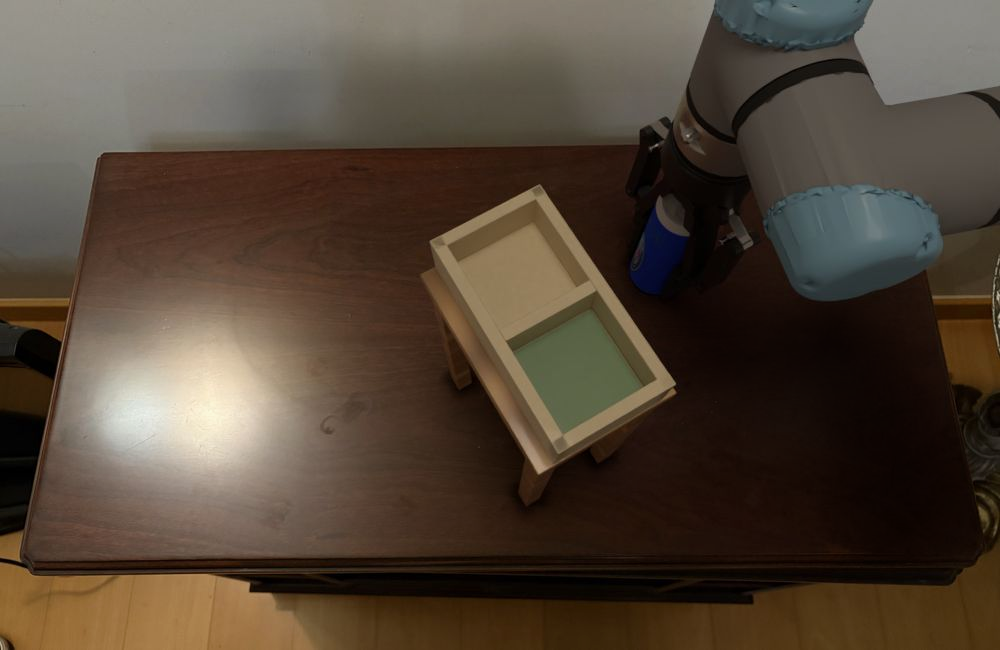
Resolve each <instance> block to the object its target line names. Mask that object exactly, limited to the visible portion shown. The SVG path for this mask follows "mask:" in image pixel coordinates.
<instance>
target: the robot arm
mask: <svg viewBox="0 0 1000 650" xmlns="http://www.w3.org/2000/svg"><path fill="white" fill-rule="evenodd" d="M873 2H874V0H714V3H713V9H712V12H711V15H710V17H709V19H708V20H709V21H708V23H707V26H706V28H705V32H704V35H703V37H702V40H701V43H700V46H699V49H698V52H697V54H696V56H695V60H694V63H693V66H692V68H691V71H690V75H689V79H688V81H687V83H686V85H685V88H684V91H683V93H682V96H681V98H680V101H679V104H678V106H677V109H676V111H675V115H674V117H673V119H672V121H671V120H670V118H669V116H663V117H661V118H659V119H657V120H656V121H653V122H652V123H649V124H647V125H645V126H643V127H642V128H640V129H639V131H638V133H639V137H638V138H639V141H638V142H639V148H638V151H637V153H636V156H635V159H634V162H633V164H632V166H631V170H630V172H629V175H628V179H627V181H626V184H625V186H624V190H625V193H626V195H627V196H628V197H629V198H634V200H635V202H636V203H635V204H634V210H635V212H634V215H633V218H632V223H633V224H634V226H635V227H634V230H633V232H632V235H631V237H630V241H629V243H628V246H627V249H628V251H629V252H630V253H631V254H633V253H635V252H636V249H637V247H638V244H639V242H640V240H641V237H642V235H643V233H644V230H645V228H646V225H647V223H648V221H649V218H650V216H651V213H652V211H653V209H654V206H655V204H656V202H657V199H658V197H659V196H661V198H663V197H665V196H667V195H669V194H671V193H672V194H673V196H674V197H675V198H676V199H677V200H678V201H679V202H680V203H681V204H682V206H683V208H684V210H685V215H684V223H683V227H684V228H685V229H686V230H687V231H688V232H689V233H690V236H689V238H688V240H687V242H686V243H685V249H684V256H683V263H681V264H680V265H678V266H676V267H674V269H673V271H672V272H671V274H670V276H669V278H668V280H667V281H666V283H665V285H664V287H663V288H662V290H661V292H660V294H659V295H660V296H661V297H662V299H663V300H665V299H667V298H669V297H671V296H672V295H674V294H676V293H678V292H680V291H682V292H687V291H688V290H690V289H692V288H693V287H695V289H696V291H697V292H698V293H699V294H704V293H706V292H708V291H710V290H711V289H714V288H715V287H717V286H718V285H721V284H722V283H724V282H725V281H727V278H728V277H729V275H730V274H731V273H732V271H733V270H734V269H735V267H736V266H737V264H738V262H739V261H740V260H741V258H742V257H743V256H744V254H745V252H747V251H748V250H750V249H751V248H754V247H756V246H757V245H759V244H760V243H761V242H762V238H761V235H760V233H759V232H758V231H757V230H756V229H750V230H747V228H746V227H745V226H744V224H743V222H742V220H741V218H740V217H741V214H742V213H743V201H744V199H745V198H746V197H747V196H748V195H749V193H750V192H751V190H752V191H753V194H754V197H755V200H756V203H757V206H758V208H759V212H760V214H761V218H762V224H763V229H764V232H765V235H766V237H767V238H768V240H769V241H771V244H772V245H773V248H774V250H775V252H776V254H777V256H778V259H779V261H780V263H781V265H782V268H783V270H784V272H785V275H786V277H787V279H788V281H789V284H790V286H791V287H792V288H793V290H794V291H795V292H796V293H798V294H799V295H800V296H802V297H804V298H806V299H807V300H808V299H809V300H812V301H817V302H837V301H843V300H849V299H855V298H858V297H861V296H864V295H866V294H867V295H868V294H869V293H871V292H872V293H873V292H875V291H881V290H884V289H888V288H890V287H893V286H896V285H898V284H900V283H902V282H905V281H907V280H909V279H911V278H913V277H915V276H917V275H918V274H920V273H922V272H923V271H924V270H926V269H928V268H929V267H931V266H933V264H934V263H935V262H936V261H937V260H938V259H939V257H940V256H941V255H942V251H943V248H944V242H943V237H944V236H949V235H956V234H961V233H967V232H971V231H972V232H973V231H975V230H976V231H977V230H980V229H986V228H991V227H996V226H997V227H998V226H1000V85H997V86H991V87H986V88H981V89H975V90H969V91H963V92H956V93H953V94H947V95H940V96H935V97H930V98H924V99H918V100H913V101H911V100H910V101H906V102H899V103H895V104H885V102H884V100H883V98H882V97H881V96H880V94H879V91H878V90H877V88H876V87H875V83H874V80H873V79H872V77H871V74H870V71H869V70H868V67H867V65H866V63H865V60H864V59H863V56H862V54H861V52H860V51H859V48H858V46H857V43H856V41H855V35H856V33H857V32H858V31H860V30H861V29H862V28H863V26H864V25H865V19H866V18H867V14H868V12H869V10H870V8H871V7H872V5H873ZM661 170H662V173H663V175H664V176H663V177H662V179H660V181H658V182H657V183H656V181H657V178H658V176H659V174H660V172H661ZM655 183H656V184H655ZM652 187H653V188H652ZM720 226H724V232H723V233H722V237H721V238H719V239H718V235H719V229H720ZM717 239H718V240H717ZM717 241H718V243H717ZM716 244H718V245H719V246H717V248H716Z"/></svg>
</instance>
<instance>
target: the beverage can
mask: <svg viewBox="0 0 1000 650" xmlns="http://www.w3.org/2000/svg"><path fill="white" fill-rule="evenodd" d="M684 215H685V210H684V208H683V206H682V204H681V203H680V202H679V201H678V200H677V199H676V198H675V197H674V196H673V194H672V193H671V194H669V195H667V196H665V197H663V198H661V196H659V197H658V199H657V202H656V204H655V206H654V209H653V211H652V213H651V216H650V218H649V221H648V223H647V225H646V228H645V230H644V233H643V235H642V237H641V240H640V242H639V244H638V247H637V249H636V251H635V252H634V254H633V256H632V258H631V261H630V264H629V277H630V280H631V281H632V282H633V284H634V285H635V287H636V288H638V289H639V290H640V291H642V292H644V293H647V294H650V295H660V292H661V290H662V288H663V287H664V285H665V283H666V281H667V280H668V278H669V276H670V274H671V272H672V271H673V269H674V267H676V266H678V265H680V264H681V263H683V256H684V249H685V243H686V242H687V240H688V238H689V236H690V233H689V232H688V231H687V230H686V229H685V228H684V227H683V223H684Z"/></svg>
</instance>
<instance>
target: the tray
mask: <svg viewBox="0 0 1000 650" xmlns="http://www.w3.org/2000/svg"><path fill="white" fill-rule="evenodd" d="M429 245H430V249H431V254H432V257H433V258H432V259H433V263H434V267H436V270H437V271H438V273H439V275H440V276H441V278H442V280H443V281H444V283H445V285H446V286H447V288H448V290H449V291H450V293H451V295H452V296H453V298H454V300H455V301H456V303H457V305H458V306H459V308H460V310H461V311H462V313H463V315H464V316H465V318H466V320H467V321H468V323H469V325H470V326H471V328H472V330H473V331H474V333H475V335H476V336H477V338H478V340H479V341H480V343H481V345H482V346H483V348H484V350H485V351H486V353H487V355H488V356H489V358H490V360H491V361H492V363H493V365H494V366H495V368H496V370H497V371H498V373H499V375H500V376H501V378H502V380H503V381H504V383H505V385H506V386H507V388H508V390H509V391H510V393H511V395H512V396H513V398H514V400H515V401H516V403H517V405H518V406H519V408H520V410H521V411H522V413H523V415H524V416H525V418H526V420H527V421H528V423H529V425H530V426H531V428H532V430H533V431H534V433H535V435H536V436H537V438H538V440H539V441H540V443H541V445H542V446H543V448H544V450H545V451H546V453H547V455H548V456H549V458H550V460H551V461H552V463H553V464H555V463H557V462H558V461H560V460H562V459H563V458H565V457H567V456H568V455H570V454H572V453H573V452H575V451H577V450H579V449H580V448H582V447H584V446H585V445H587V444H589V443H590V442H592V441H594V440H595V439H597V438H599V437H600V436H602V435H604V434H605V433H607V432H609V431H610V430H612V429H614V428H616V427H617V426H619V425H621V424H622V423H624V422H626V421H627V420H629V419H631V418H632V417H634V416H636V415H637V414H639V413H641V412H642V411H644V410H646V409H647V408H649V407H651V406H653V405H654V404H656V403H658V402H659V401H661V400H662V399H663V398H664V397H665V396H666V395H667V394H668V392H669V391H670V390H671V389H672V388H675V386H676V385H677V382H676V381H675V380H674V379H673V377H672V376H671V374H670V373H669V372H668V370H667V368H666V367H665V365H664V364H663V363H662V361H661V360H660V359H659V357H658V355H657V354H656V353H655V351H654V349H653V348H652V347H651V345H650V343H649V342H648V341H647V339H646V338H645V336H644V334H643V333H642V331H640V329H639V328H638V326H637V324H636V323H635V322H634V320H633V319H632V317H631V315H630V314H629V312H628V311H627V310H626V308H625V307H624V305H623V304H622V302H621V301H620V299H619V298H618V297H617V295H616V294H615V293H614V290H613V289H612V288H611V287H610V285H609V284H608V282H607V280H606V279H605V278H604V276H603V275H602V273H601V272H600V270H599V269H598V267H597V266H596V264H595V263H594V262H593V260H592V258H591V257H590V255H589V254H588V253H587V250H585V248H584V246H583V245H582V244H581V242H580V241H579V239H578V238H577V236H576V235H575V233H574V232H573V230H572V229H571V227H570V226H569V225H568V223H567V222H566V220H565V219H564V217H563V216H562V214H561V213H560V211H559V210H558V209H557V207H556V206H555V204H554V203H553V201H552V200H551V198H550V197H549V195H548V194H547V192H546V190H545V189H544V188H543V186H542V184H538V185H535V186H534V187H531V188H530V189H528V190H525V191H524V192H522V193H520V194H518V195H516V196H514V197H512V198H510V199H508V200H506V201H505V202H502V203H500V204H499V205H497V206H495V207H492V208H491V209H488V210H487V211H485V212H483V213H481V214H480V215H477V216H475V217H473V218H472V219H469V220H467V221H466V222H464V223H462V224H460V225H457V226H456V227H454V228H452V229H450V230H449V231H447V232H444V233H442V234H440V235H439V236H436V237H435V238H432V239H431V240H429Z"/></svg>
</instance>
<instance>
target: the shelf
mask: <svg viewBox="0 0 1000 650" xmlns="http://www.w3.org/2000/svg"><path fill="white" fill-rule="evenodd" d="M419 276H420V279H421V283H422V285H423V287H424V289H425V290H426V293H427V294H428V295H429V298H430V300H431V303H432V307H433V311H434V315H435V319H436V322H437V327H438V330H439V334H440V338H441V341H442V346H443V349H444V353H445V356H446V360H447V361H446V362H447V363H448V368H449V371H450V372H449V373H450V376H451V379H452V381H453V382H454V384H455V386H456V387H457V389H458V390H459V391H460V390H462V389H464V388H465V387H467V386H469V385H471V384H473V380H472V374H471V369H470V367H471V368H472V370H473V372H474V374H475V375H476V377H477V379H478V381H479V382H480V384H481V386H482V388H483V389H484V391H485V393H486V394H487V396H488V397H489V399H490V401H491V402H492V404H493V406H494V408H495V409H496V411H497V413H498V414H499V417H500V418H501V419H502V422H503V423H504V424H505V426H506V428H507V430H508V431H509V433H510V435H511V437H512V439H513V440H514V442H515V443H516V445H517V447H518V449H519V451H520V452H521V454H522V455H523V457H524V462H523V467H522V470H521V471H522V472H521V477H520V482H519V487H518V492H517V493H518V496H519V497H520V499H521V500H522V503H523V504H524V505H525V507H528V506H530V505H531V504H533V503H535V502H536V501H538V500H539V499H540V498H541V496H542V495H543V492H544V490H545V488H546V487H547V485H548V483H549V481H550V478H551V477H552V475H553V473H554V471H555V470H556V468H557V467H559V466H561V465H562V464H564V463H566V462H567V461H569V460H571V459H572V458H574V457H576V456H577V455H579V454H581V453H583V452H584V451H586V450H587V449H589V452H590V453H591V456H592V457H593V459H594V460H595V462H596V464H600V463H601V462H603V461H605V460H606V459H608V458H609V457H611V456H612V455H613V454H614V453H615V451H617V450H618V448H619V447H620V446H621V445H622V444H624V442H625V441H627V439H628V438H629V437H630V436H631V434H633V433H634V432H635V430H637V428H639V426H640V425H641V424H642V423H643V422H644V421H645V420H646V419H647V418H648V416H650V415H651V414H652V412H654V411H655V410H656V409H657V408H658V407H660V406H661V405H663V404H665V403H666V402H668V401H670V400H672V398H674V397H675V395H676V394H677V391H676V390H675V387H673V388H672V389H671V390H670V391H669V392H668V394H667V395H666V396H665V397H664V398H663V399H662V400H661V401H659V402H658V403H656V404H654V405H653V406H651V407H649V408H647V409H646V410H644V411H642V412H641V413H639V414H637V415H636V416H634V417H632V418H631V419H629V420H627V421H626V422H624V423H622V424H621V425H619V426H617V427H616V428H614V429H612V430H610V431H609V432H607V433H605V434H604V435H602V436H600V437H599V438H597V439H595V440H594V441H592V442H590V443H589V444H587V445H585V446H584V447H582V448H580V449H579V450H577V451H575V452H573V453H572V454H570V455H568V456H567V457H565V458H563V459H562V460H560V461H558V462H557V463H555V464H553V463H552V461H551V460H550V458H549V456H548V455H547V453H546V451H545V450H544V448H543V446H542V445H541V443H540V441H539V440H538V438H537V436H536V435H535V433H534V431H533V430H532V428H531V426H530V425H529V423H528V421H527V420H526V418H525V416H524V415H523V413H522V411H521V410H520V408H519V406H518V405H517V403H516V401H515V400H514V398H513V396H512V395H511V393H510V391H509V390H508V388H507V386H506V385H505V383H504V381H503V380H502V378H501V376H500V375H499V373H498V371H497V370H496V368H495V366H494V365H493V363H492V361H491V360H490V358H489V356H488V355H487V353H486V351H485V350H484V348H483V346H482V345H481V343H480V341H479V340H478V338H477V336H476V335H475V333H474V331H473V330H472V328H471V326H470V325H469V323H468V321H467V320H466V318H465V316H464V315H463V313H462V311H461V310H460V308H459V306H458V305H457V303H456V301H455V300H454V298H453V296H452V295H451V293H450V291H449V290H448V288H447V286H446V285H445V283H444V281H443V280H442V278H441V276H440V275H439V273H438V271H437V270H436V267H435V266H434V267H432V268H430V269H428V270H426V271H424V272H422V273H420V275H419Z"/></svg>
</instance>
